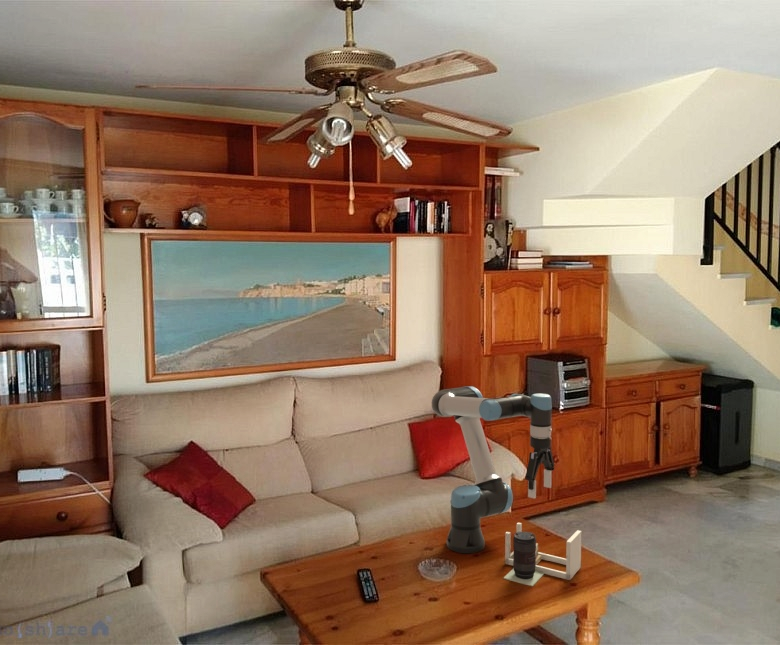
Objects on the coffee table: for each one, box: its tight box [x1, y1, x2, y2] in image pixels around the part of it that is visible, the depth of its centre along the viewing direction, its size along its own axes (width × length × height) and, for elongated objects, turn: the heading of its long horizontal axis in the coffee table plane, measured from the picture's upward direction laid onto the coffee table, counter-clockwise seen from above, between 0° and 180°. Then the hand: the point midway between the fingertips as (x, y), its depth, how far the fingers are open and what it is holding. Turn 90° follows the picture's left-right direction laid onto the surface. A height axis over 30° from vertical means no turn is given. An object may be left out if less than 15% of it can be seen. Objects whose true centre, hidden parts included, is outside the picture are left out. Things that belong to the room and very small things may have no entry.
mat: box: [503, 567, 545, 587], centre depth 252 cm, size 11×11×1 cm
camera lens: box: [512, 531, 537, 579], centre depth 252 cm, size 8×8×15 cm
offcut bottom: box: [536, 555, 542, 565], centre depth 264 cm, size 8×8×2 cm
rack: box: [504, 522, 582, 581], centre depth 260 cm, size 25×12×14 cm, turn 57°
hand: (539, 492), depth 258 cm, fingers open, 13 cm apart
